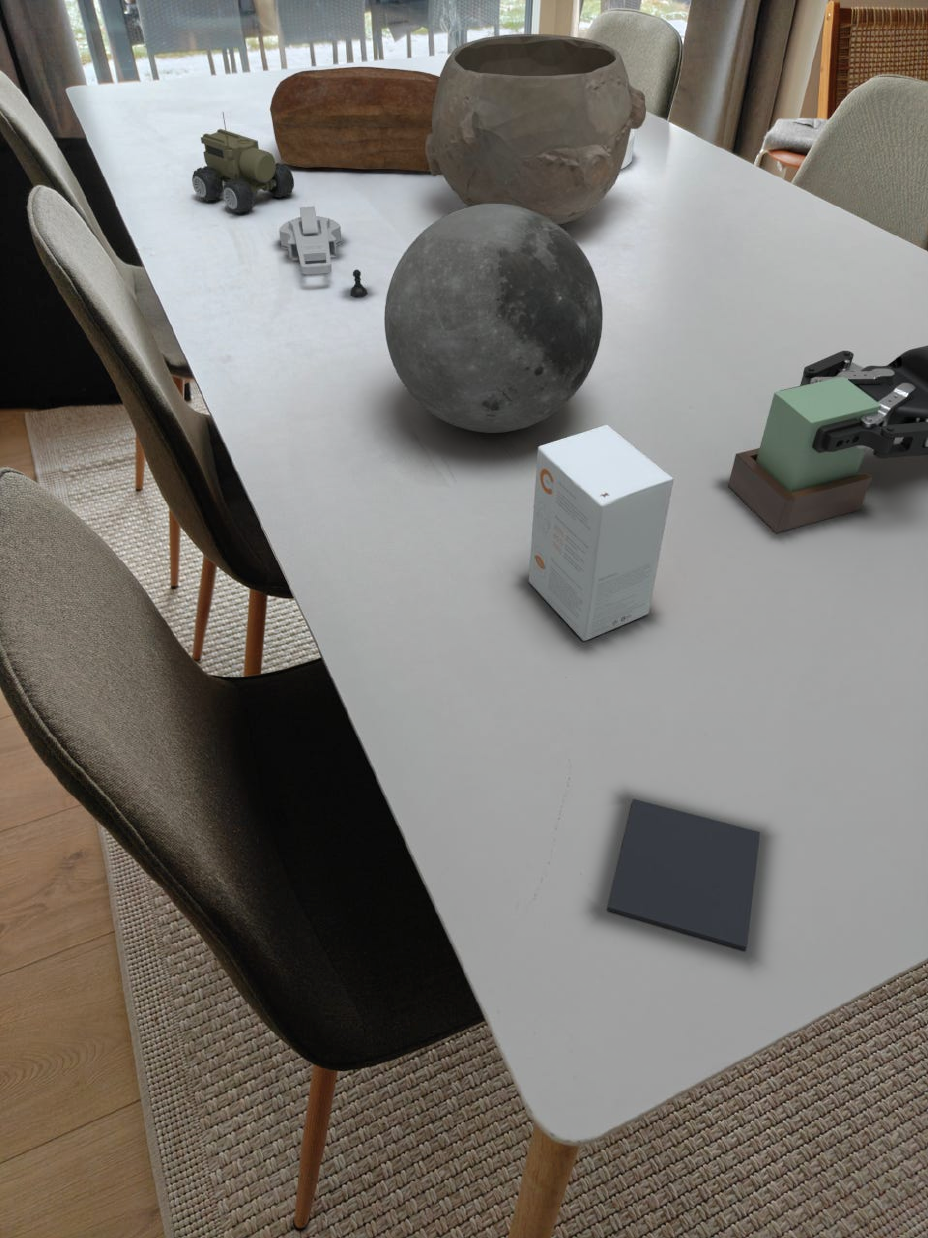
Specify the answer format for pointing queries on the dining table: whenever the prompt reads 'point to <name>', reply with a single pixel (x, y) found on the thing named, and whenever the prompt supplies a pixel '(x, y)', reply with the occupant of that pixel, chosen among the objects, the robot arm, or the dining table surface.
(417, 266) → the decorative sphere
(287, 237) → the zipper pull
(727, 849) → the rubber mat
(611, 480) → the small box
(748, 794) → the dining table surface
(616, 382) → the dining table surface
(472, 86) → the bowl
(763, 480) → the u-shaped bracket
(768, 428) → the green rectangular block
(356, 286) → the chess pawn
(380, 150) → the bread
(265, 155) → the toy vehicle
